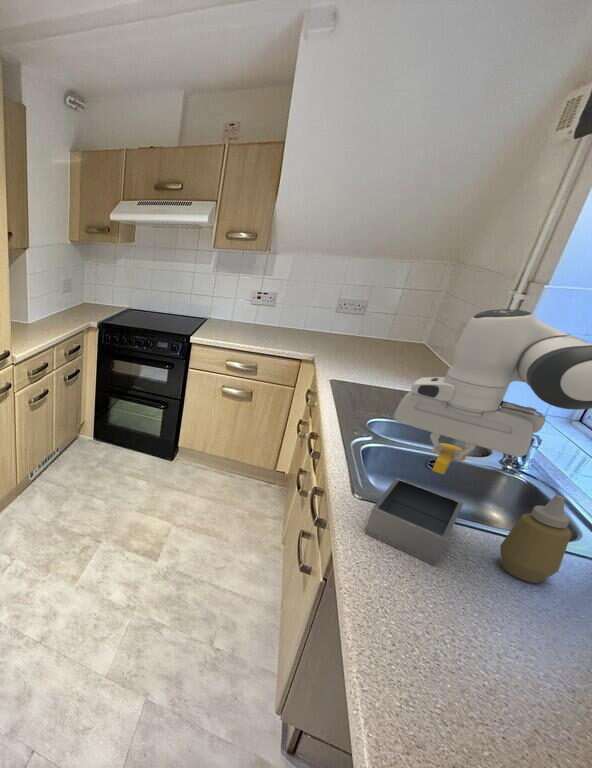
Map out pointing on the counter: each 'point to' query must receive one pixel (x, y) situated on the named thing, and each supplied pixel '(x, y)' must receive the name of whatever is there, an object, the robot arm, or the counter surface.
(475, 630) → the counter surface
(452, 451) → the yellow letter t
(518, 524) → the squeeze bottle
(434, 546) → the grey open box
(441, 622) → the counter surface
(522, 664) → the counter surface
